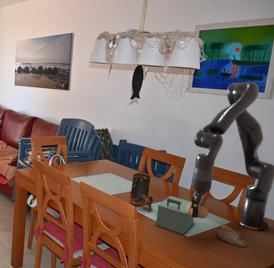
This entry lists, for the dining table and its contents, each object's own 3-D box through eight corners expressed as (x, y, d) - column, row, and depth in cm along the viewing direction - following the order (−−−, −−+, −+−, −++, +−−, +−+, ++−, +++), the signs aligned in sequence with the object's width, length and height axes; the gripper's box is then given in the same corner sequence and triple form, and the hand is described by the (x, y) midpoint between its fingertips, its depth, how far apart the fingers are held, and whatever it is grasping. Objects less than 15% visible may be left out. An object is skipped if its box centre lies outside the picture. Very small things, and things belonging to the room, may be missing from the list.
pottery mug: (146, 214, 173) (139, 199, 174) (133, 215, 181) (127, 201, 182) (160, 205, 179) (153, 190, 180) (147, 206, 187) (141, 192, 188)
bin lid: (185, 214, 150) (187, 205, 149) (157, 206, 158) (159, 197, 157) (196, 204, 163) (197, 195, 162) (169, 197, 171) (171, 188, 170)
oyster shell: (223, 243, 146) (225, 233, 145) (214, 231, 158) (216, 221, 157) (247, 247, 144) (249, 237, 143) (236, 234, 156) (238, 224, 155)
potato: (208, 218, 144) (210, 206, 143) (205, 221, 140) (207, 210, 139) (187, 211, 150) (188, 200, 149) (183, 215, 146) (185, 203, 145)
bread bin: (182, 234, 152) (186, 214, 150) (155, 225, 160) (158, 205, 158) (192, 223, 165) (196, 204, 163) (167, 215, 173) (169, 197, 171)
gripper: (207, 184, 134) (201, 223, 137) (215, 176, 145) (209, 213, 148) (188, 179, 139) (182, 217, 142) (197, 172, 150) (191, 208, 153)
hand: (196, 215), depth 145 cm, fingers closed on potato, 5 cm apart
